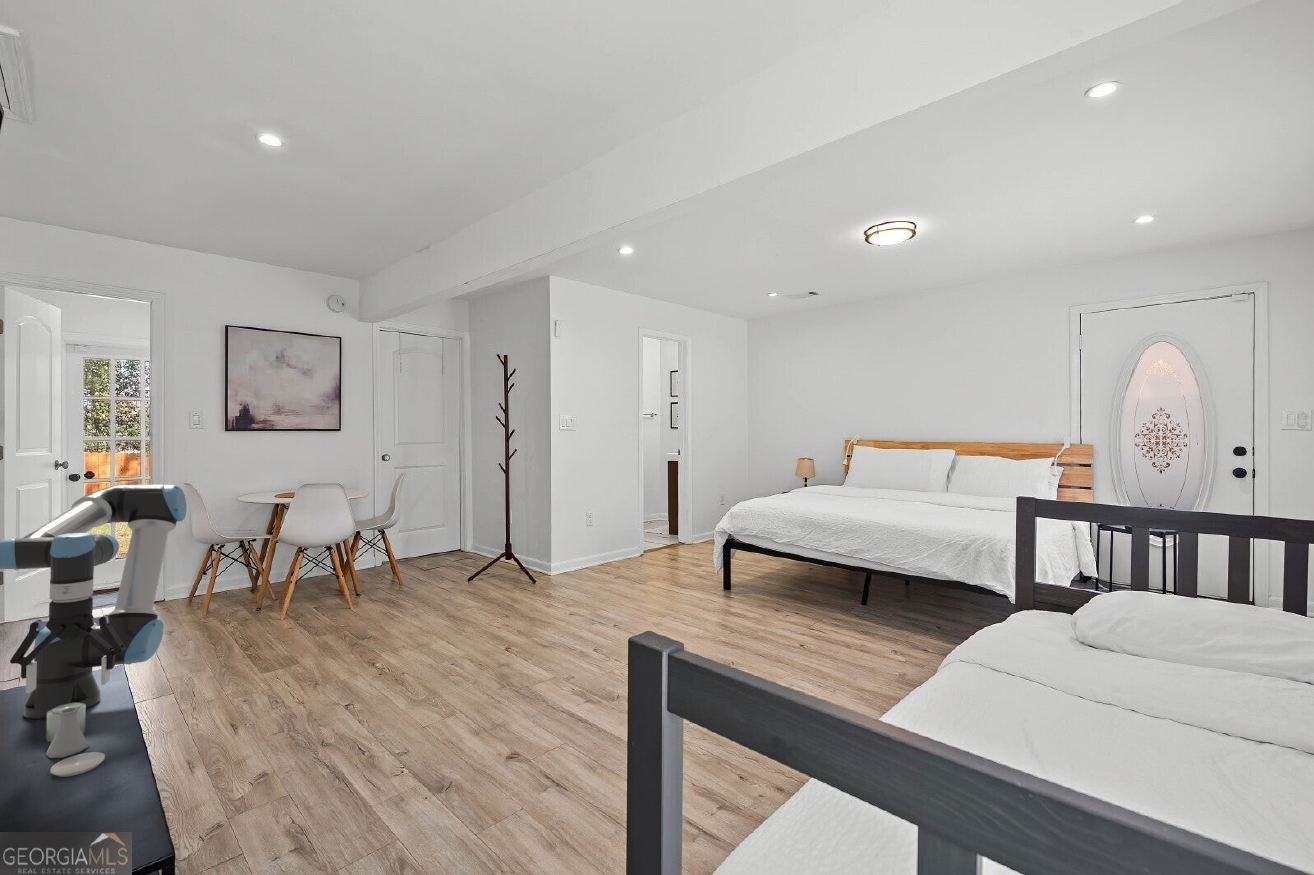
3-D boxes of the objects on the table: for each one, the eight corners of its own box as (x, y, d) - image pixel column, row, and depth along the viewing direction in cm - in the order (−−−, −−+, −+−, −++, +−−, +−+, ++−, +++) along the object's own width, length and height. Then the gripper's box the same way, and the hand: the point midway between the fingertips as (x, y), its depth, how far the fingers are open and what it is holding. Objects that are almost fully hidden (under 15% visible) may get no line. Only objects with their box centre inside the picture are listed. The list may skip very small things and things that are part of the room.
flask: (61, 761, 140) (62, 718, 140) (37, 757, 141) (38, 715, 141) (96, 745, 147) (97, 705, 147) (73, 742, 149) (74, 701, 149)
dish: (61, 761, 140) (62, 756, 140) (111, 754, 143) (111, 749, 143) (41, 782, 132) (41, 777, 132) (94, 774, 135) (95, 768, 135)
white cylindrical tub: (54, 731, 153) (55, 703, 153) (90, 726, 156) (90, 699, 156) (40, 744, 147) (40, 715, 147) (77, 739, 150) (78, 710, 150)
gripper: (-9, 607, 136) (-12, 701, 135) (131, 597, 146) (128, 685, 146) (10, 599, 142) (7, 688, 142) (142, 590, 153) (140, 674, 153)
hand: (68, 687), depth 144 cm, fingers open, 13 cm apart
